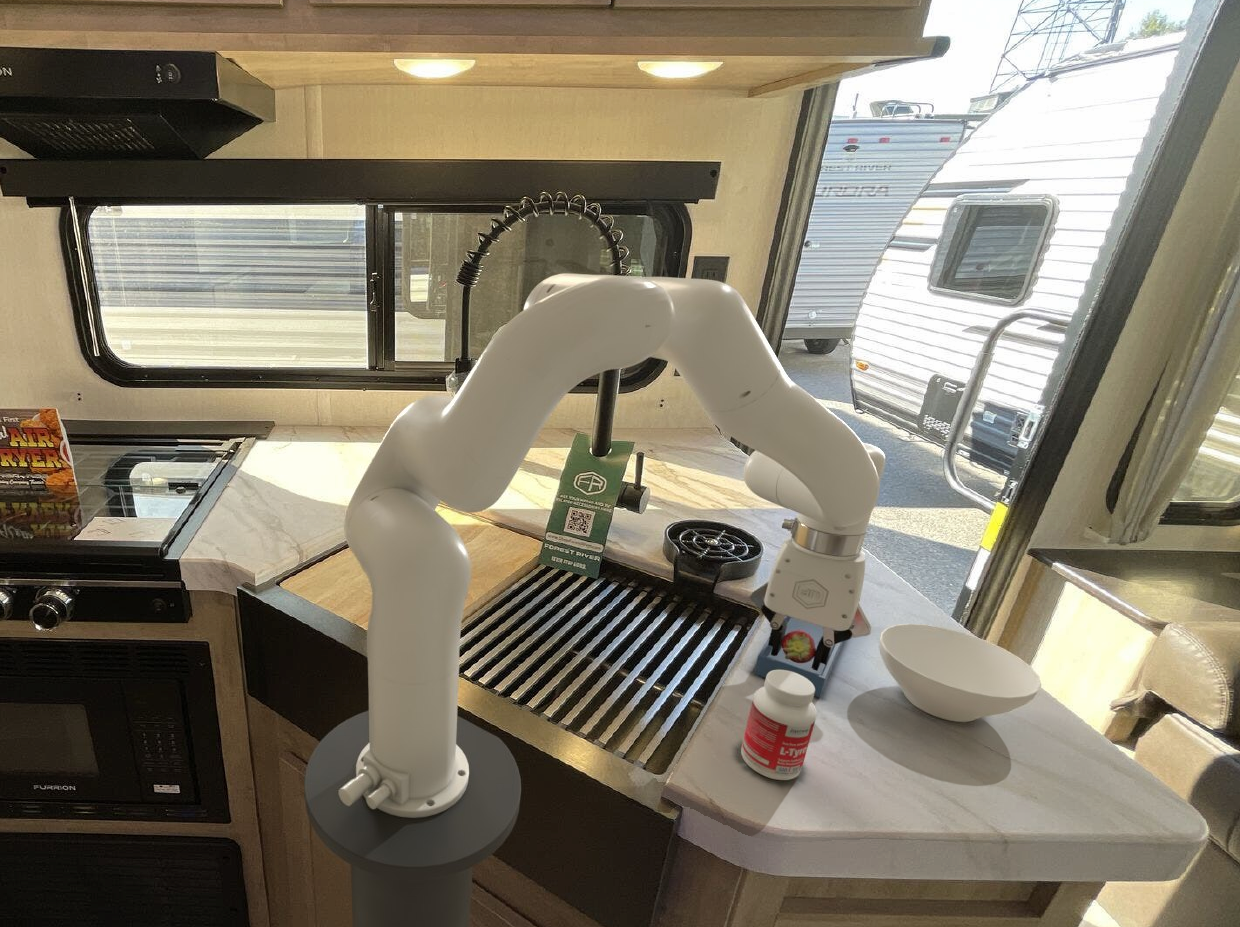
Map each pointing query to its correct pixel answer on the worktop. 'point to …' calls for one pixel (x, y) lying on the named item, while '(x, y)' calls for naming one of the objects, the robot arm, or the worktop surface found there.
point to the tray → (779, 662)
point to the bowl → (955, 672)
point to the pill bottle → (780, 725)
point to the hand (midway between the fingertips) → (796, 657)
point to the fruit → (798, 646)
